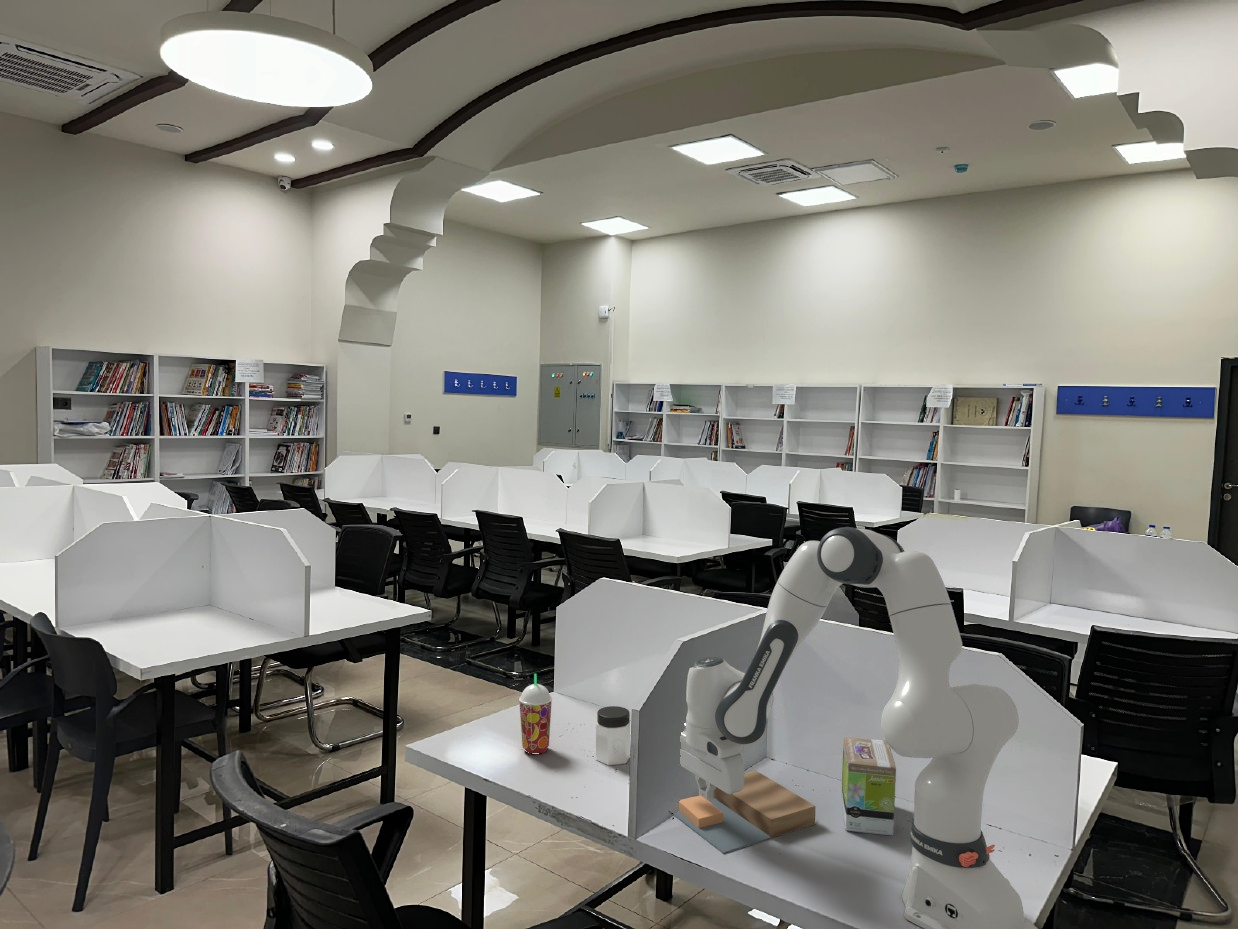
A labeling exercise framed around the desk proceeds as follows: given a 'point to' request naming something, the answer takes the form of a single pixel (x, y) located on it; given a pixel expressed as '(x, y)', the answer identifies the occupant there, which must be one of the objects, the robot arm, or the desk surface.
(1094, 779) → the desk surface
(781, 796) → the board
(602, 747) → the jar
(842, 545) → the robot arm
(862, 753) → the tea box
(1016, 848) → the desk surface
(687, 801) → the orange rectangular block
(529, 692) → the smoothie
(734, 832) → the mat
